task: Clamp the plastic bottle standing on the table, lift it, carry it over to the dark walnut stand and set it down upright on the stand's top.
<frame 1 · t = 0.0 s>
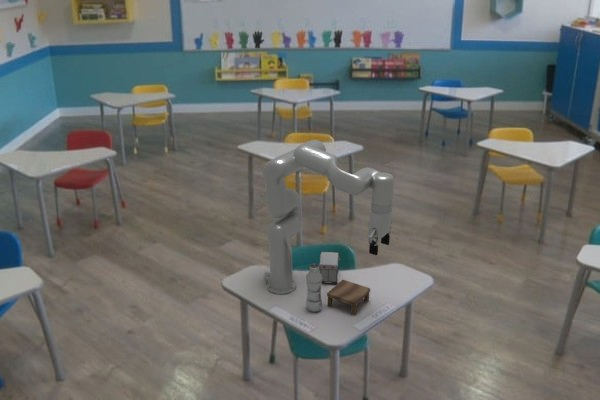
hand: (379, 248, 212), 31 cm above the table, fingers open, 9 cm apart
toy vehicle: (329, 275, 256), on the table
plastic bottle: (314, 309, 231), on the table
walnut stand: (348, 303, 235), on the table
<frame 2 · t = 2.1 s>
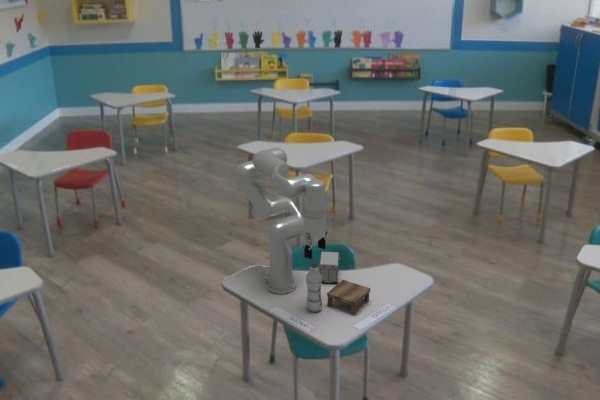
hand: (315, 253, 220), 26 cm above the table, fingers open, 9 cm apart
nothing on the table moved.
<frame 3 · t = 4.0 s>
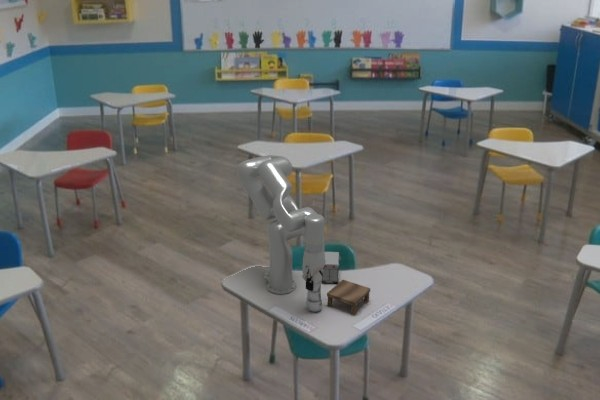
hand: (314, 285, 226), 11 cm above the table, fingers closed on plastic bottle, 6 cm apart
plastic bottle: (313, 309, 231), on the table, touching gripper
everything else where it was.
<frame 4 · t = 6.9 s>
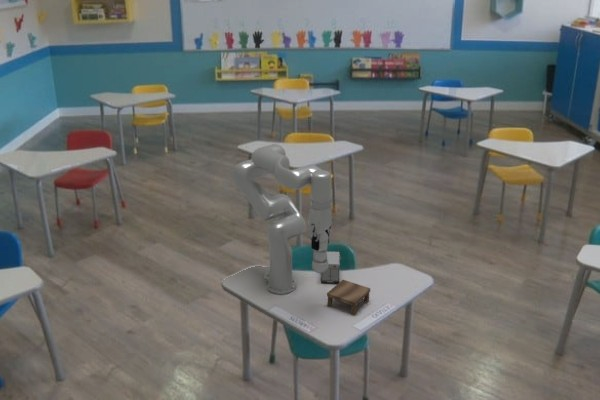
hand: (320, 245, 220), 29 cm above the table, fingers closed on plastic bottle, 6 cm apart
plastic bottle: (320, 271, 224), point 17 cm above the table, touching gripper
everything else where it was.
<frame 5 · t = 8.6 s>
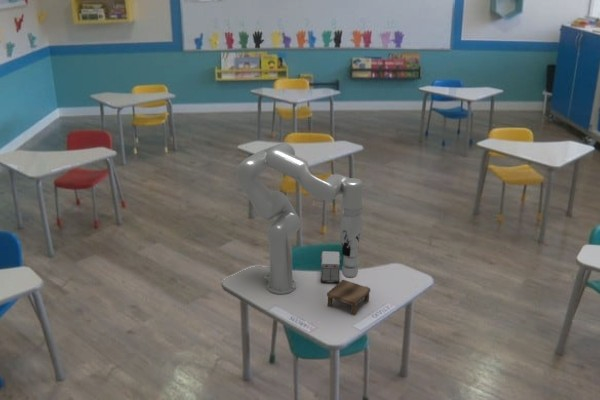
hand: (350, 251, 225), 24 cm above the table, fingers closed on plastic bottle, 6 cm apart
plastic bottle: (349, 276, 230), point 13 cm above the table, touching gripper
everything else where it was.
when the fingers open (18 cm above the table, at t = 10.1 s): plastic bottle stays where it is, resting on walnut stand.
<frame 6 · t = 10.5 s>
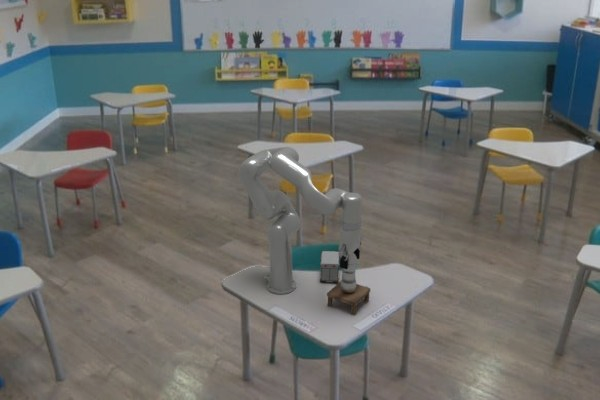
hand: (349, 263, 227), 19 cm above the table, fingers open, 9 cm apart
plastic bottle: (348, 290, 232), point 6 cm above the table, touching walnut stand
everything else where it was.
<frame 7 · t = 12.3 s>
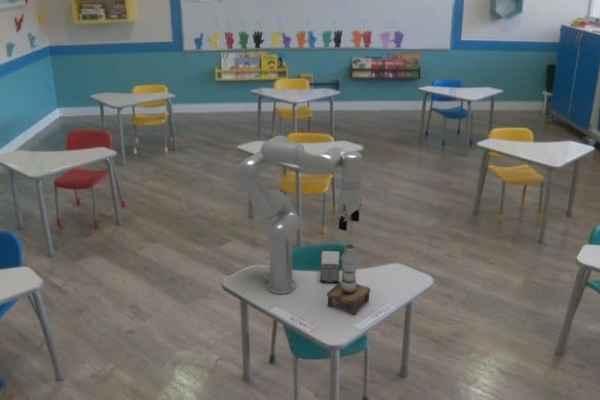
hand: (348, 225, 221), 35 cm above the table, fingers open, 9 cm apart
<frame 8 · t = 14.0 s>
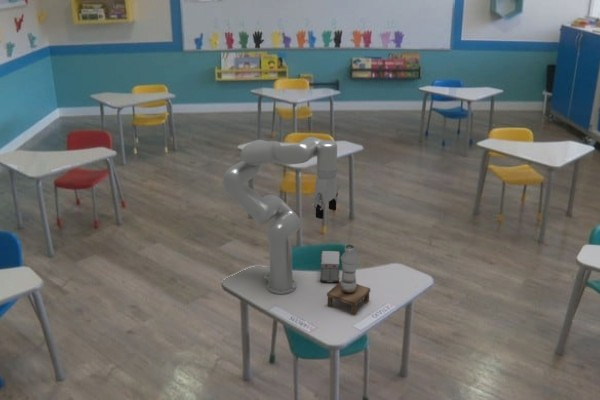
hand: (326, 213, 224), 38 cm above the table, fingers open, 9 cm apart
at the end: plastic bottle inside the target area on the walnut stand (0.2 cm from its centre), point 5.8 cm above the walnut stand's base; plastic bottle tilted 0°; the gripper is holding nothing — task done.
